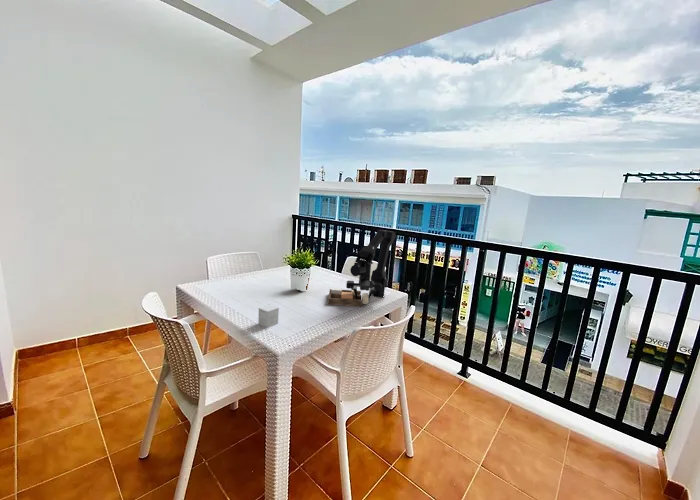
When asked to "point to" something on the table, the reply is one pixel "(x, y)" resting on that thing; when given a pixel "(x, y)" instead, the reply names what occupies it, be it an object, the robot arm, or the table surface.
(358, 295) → the lane rack
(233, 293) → the table surface
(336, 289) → the cream white block dumbbell
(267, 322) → the product box
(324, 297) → the table surface
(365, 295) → the cream orange dumbbell block
